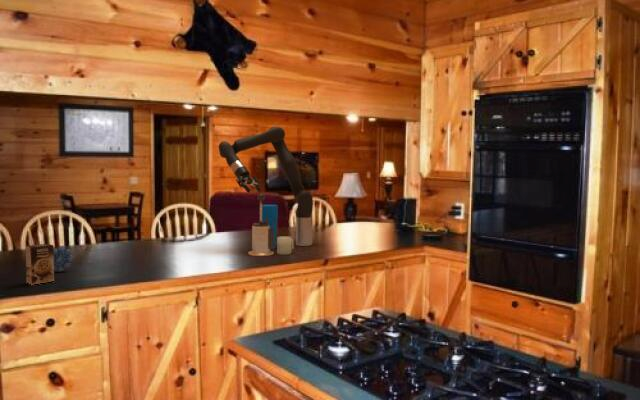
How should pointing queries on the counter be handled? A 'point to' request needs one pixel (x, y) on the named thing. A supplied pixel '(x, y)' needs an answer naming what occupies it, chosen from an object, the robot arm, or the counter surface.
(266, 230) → the beige cylinder with base
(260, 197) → the plunger
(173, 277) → the counter surface
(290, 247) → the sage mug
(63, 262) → the grapes
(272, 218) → the blue tapered block
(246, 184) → the robot arm
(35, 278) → the coffee box
